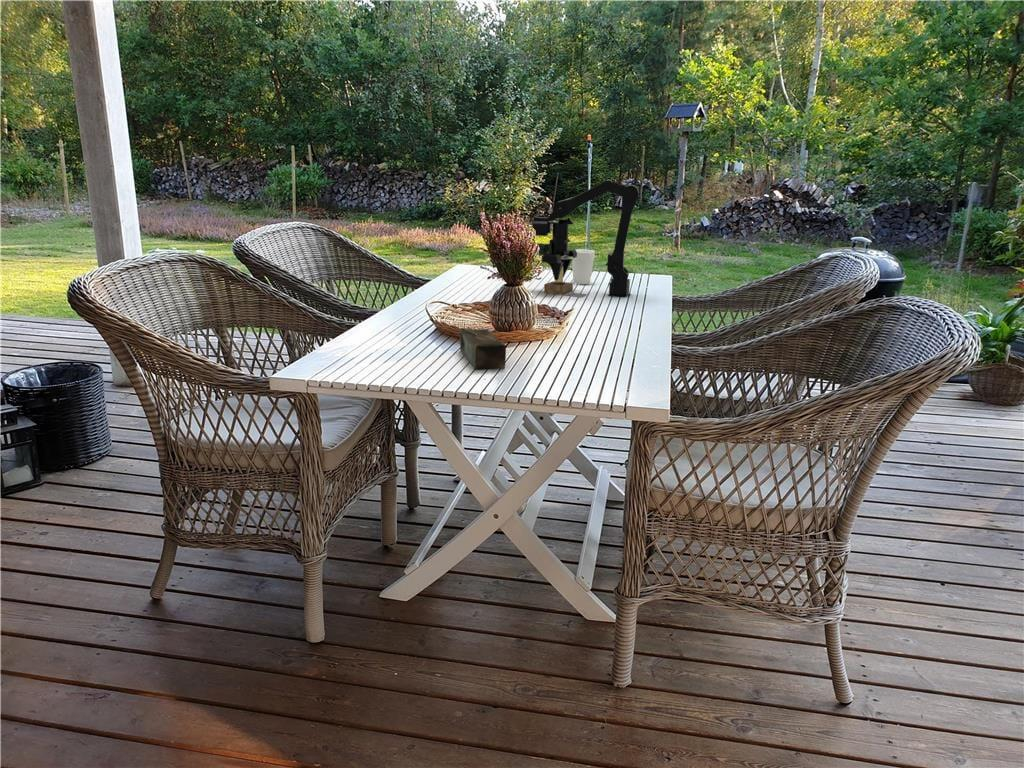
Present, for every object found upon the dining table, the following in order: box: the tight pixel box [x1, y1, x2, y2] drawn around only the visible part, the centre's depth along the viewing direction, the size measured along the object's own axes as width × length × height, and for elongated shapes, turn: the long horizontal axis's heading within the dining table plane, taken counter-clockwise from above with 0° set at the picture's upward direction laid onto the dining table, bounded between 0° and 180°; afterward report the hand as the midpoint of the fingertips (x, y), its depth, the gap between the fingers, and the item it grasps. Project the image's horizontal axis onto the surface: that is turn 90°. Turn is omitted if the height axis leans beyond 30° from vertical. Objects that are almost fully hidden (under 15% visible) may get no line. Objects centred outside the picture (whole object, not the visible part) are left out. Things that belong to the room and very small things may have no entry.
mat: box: [563, 292, 590, 299], centre depth 275 cm, size 7×7×1 cm
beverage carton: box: [459, 327, 507, 371], centre depth 191 cm, size 8×19×7 cm, turn 15°
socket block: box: [543, 280, 574, 296], centre depth 279 cm, size 8×8×4 cm
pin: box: [554, 266, 564, 285], centre depth 278 cm, size 3×3×10 cm
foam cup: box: [570, 248, 596, 285], centre depth 297 cm, size 10×9×13 cm
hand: (558, 279), depth 278 cm, fingers open, 5 cm apart
